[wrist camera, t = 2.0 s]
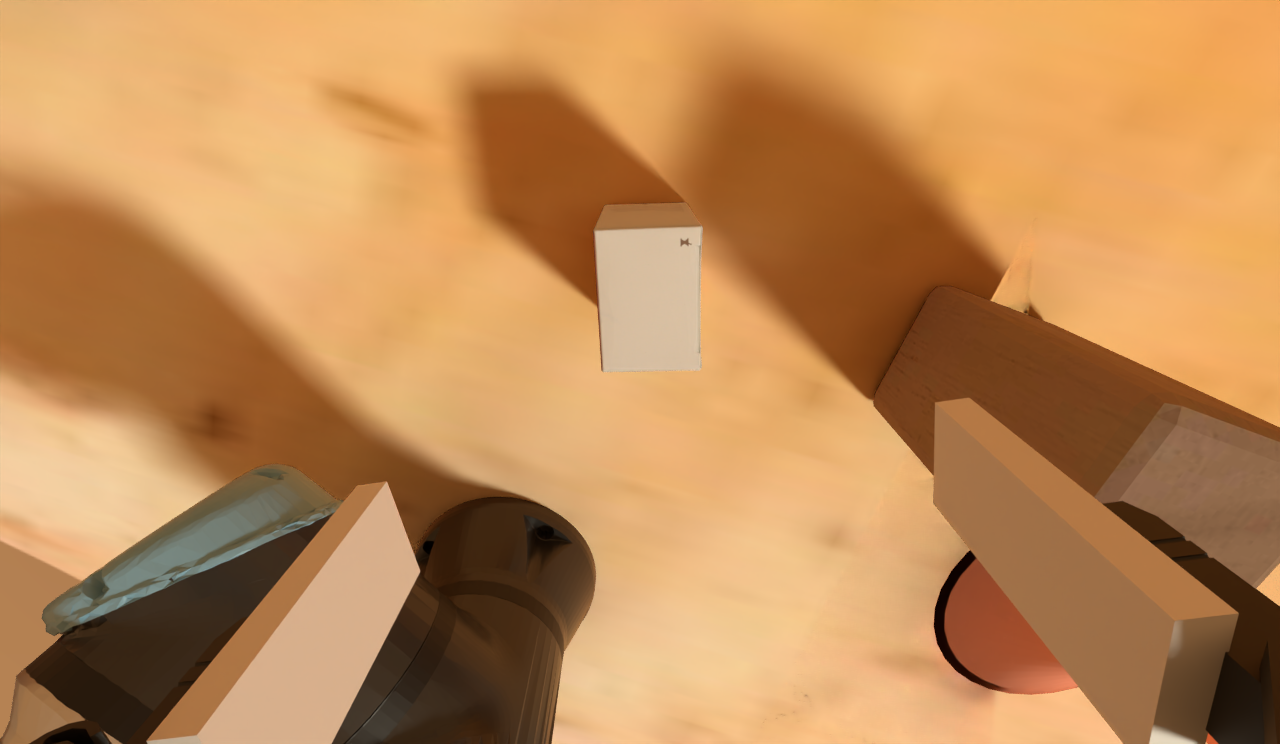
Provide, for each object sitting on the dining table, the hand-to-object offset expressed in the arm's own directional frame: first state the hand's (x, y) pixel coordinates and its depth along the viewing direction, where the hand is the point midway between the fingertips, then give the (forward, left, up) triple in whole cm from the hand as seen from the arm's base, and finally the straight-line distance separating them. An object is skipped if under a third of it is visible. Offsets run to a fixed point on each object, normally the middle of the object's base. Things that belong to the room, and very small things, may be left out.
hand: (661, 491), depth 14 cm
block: (+21, -11, -28) cm, 37 cm away
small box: (0, 0, -28) cm, 29 cm away
